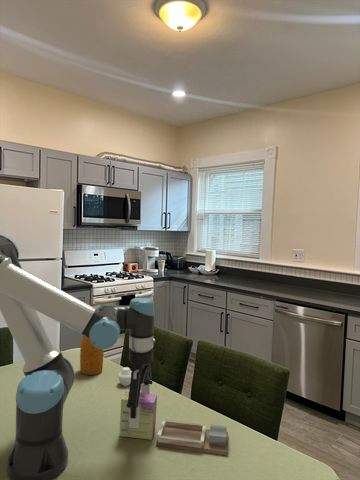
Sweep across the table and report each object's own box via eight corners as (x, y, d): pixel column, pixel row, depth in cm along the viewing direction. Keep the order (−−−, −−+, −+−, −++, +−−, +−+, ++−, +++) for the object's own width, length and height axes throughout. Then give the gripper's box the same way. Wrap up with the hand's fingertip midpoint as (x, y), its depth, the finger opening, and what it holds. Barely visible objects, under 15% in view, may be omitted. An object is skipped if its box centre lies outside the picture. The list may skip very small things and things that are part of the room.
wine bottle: (107, 370, 159) (109, 303, 157) (91, 378, 150) (93, 307, 149) (91, 365, 164) (93, 300, 163) (74, 372, 156) (77, 303, 154)
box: (155, 429, 115) (157, 393, 115) (152, 440, 110) (154, 402, 109) (123, 426, 116) (125, 390, 116) (119, 436, 111) (120, 399, 110)
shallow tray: (227, 455, 104) (227, 441, 104) (156, 445, 107) (156, 432, 107) (227, 435, 114) (228, 422, 113) (162, 427, 117) (163, 414, 117)
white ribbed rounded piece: (130, 388, 143) (131, 371, 143) (115, 386, 144) (116, 369, 144) (134, 381, 149) (135, 365, 149) (120, 380, 150) (121, 363, 150)
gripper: (142, 365, 99) (141, 440, 100) (161, 337, 123) (159, 397, 124) (116, 362, 100) (115, 436, 101) (140, 335, 125) (138, 395, 126)
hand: (139, 415), depth 113 cm, fingers open, 13 cm apart
